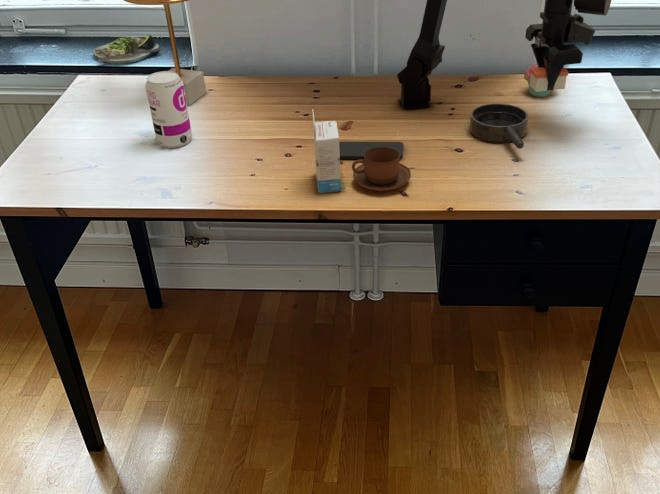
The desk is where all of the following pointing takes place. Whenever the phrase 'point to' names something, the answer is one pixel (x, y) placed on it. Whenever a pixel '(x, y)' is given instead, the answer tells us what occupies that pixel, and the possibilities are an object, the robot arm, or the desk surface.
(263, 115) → the desk surface
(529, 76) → the cupcake
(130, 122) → the desk surface
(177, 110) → the supplement can
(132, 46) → the salad plate
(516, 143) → the pan handle
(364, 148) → the phone
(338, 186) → the ink box
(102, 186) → the desk surface
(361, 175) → the cup and saucer
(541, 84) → the sushi
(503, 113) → the pan
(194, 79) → the lamp
